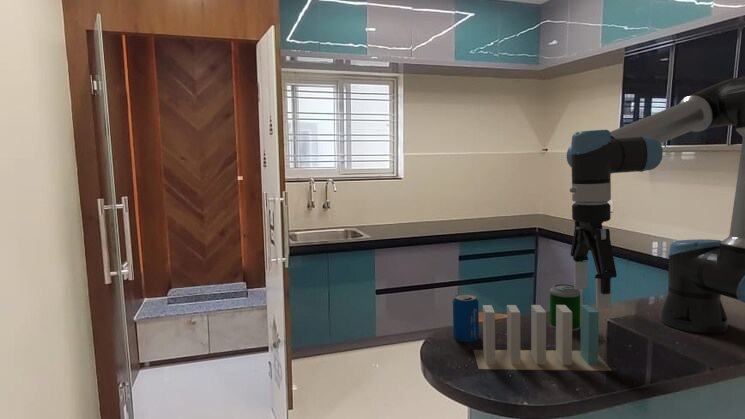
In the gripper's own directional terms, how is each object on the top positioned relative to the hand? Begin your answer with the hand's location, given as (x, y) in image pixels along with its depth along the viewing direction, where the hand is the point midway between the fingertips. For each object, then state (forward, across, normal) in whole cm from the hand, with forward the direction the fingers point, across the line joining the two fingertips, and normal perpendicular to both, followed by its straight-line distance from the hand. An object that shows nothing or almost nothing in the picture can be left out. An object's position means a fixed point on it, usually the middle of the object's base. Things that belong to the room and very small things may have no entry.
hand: (591, 297), depth 100 cm
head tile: (+14, 0, -1) cm, 14 cm away
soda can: (+16, -21, 0) cm, 26 cm away
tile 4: (+14, 0, -17) cm, 22 cm away
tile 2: (+14, 0, -6) cm, 15 cm away
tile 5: (+14, 0, -23) cm, 27 cm away
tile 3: (+14, 0, -12) cm, 18 cm away
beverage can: (+15, -13, -27) cm, 33 cm away
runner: (+15, 0, -12) cm, 19 cm away
